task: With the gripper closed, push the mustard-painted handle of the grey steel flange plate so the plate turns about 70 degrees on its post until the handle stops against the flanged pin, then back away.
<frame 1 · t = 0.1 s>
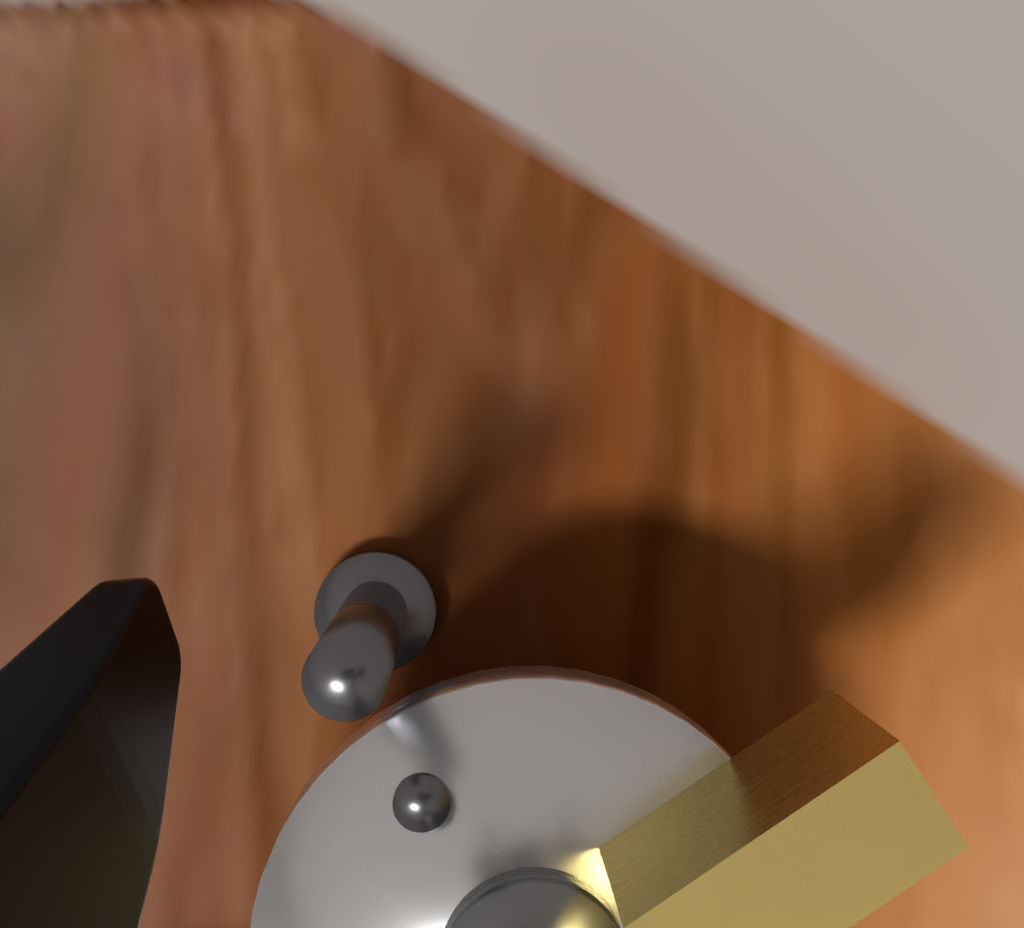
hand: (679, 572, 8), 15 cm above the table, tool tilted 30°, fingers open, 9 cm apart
flanged pin: (376, 609, 23), on the table
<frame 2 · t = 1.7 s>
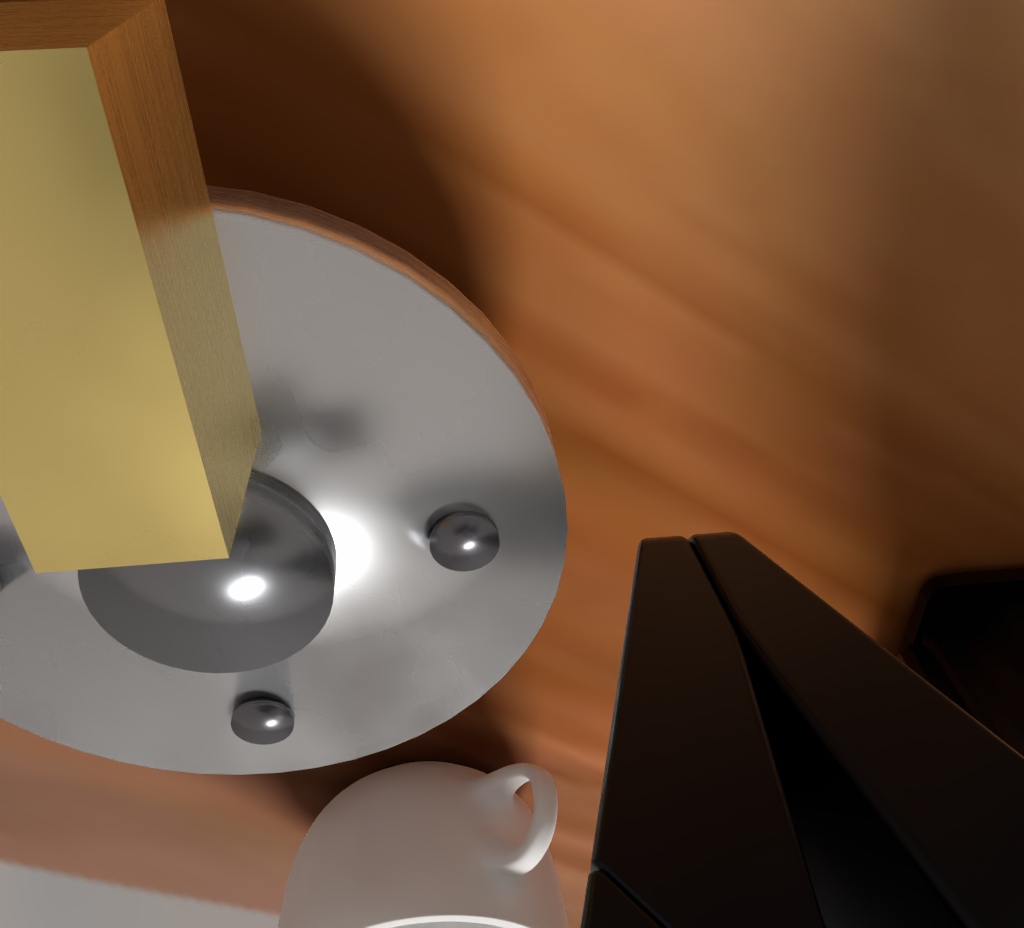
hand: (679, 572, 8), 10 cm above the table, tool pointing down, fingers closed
flange plate: (189, 534, 14), point 5 cm above the table, hinge at 0.0°
teacup: (441, 780, 26), on the table
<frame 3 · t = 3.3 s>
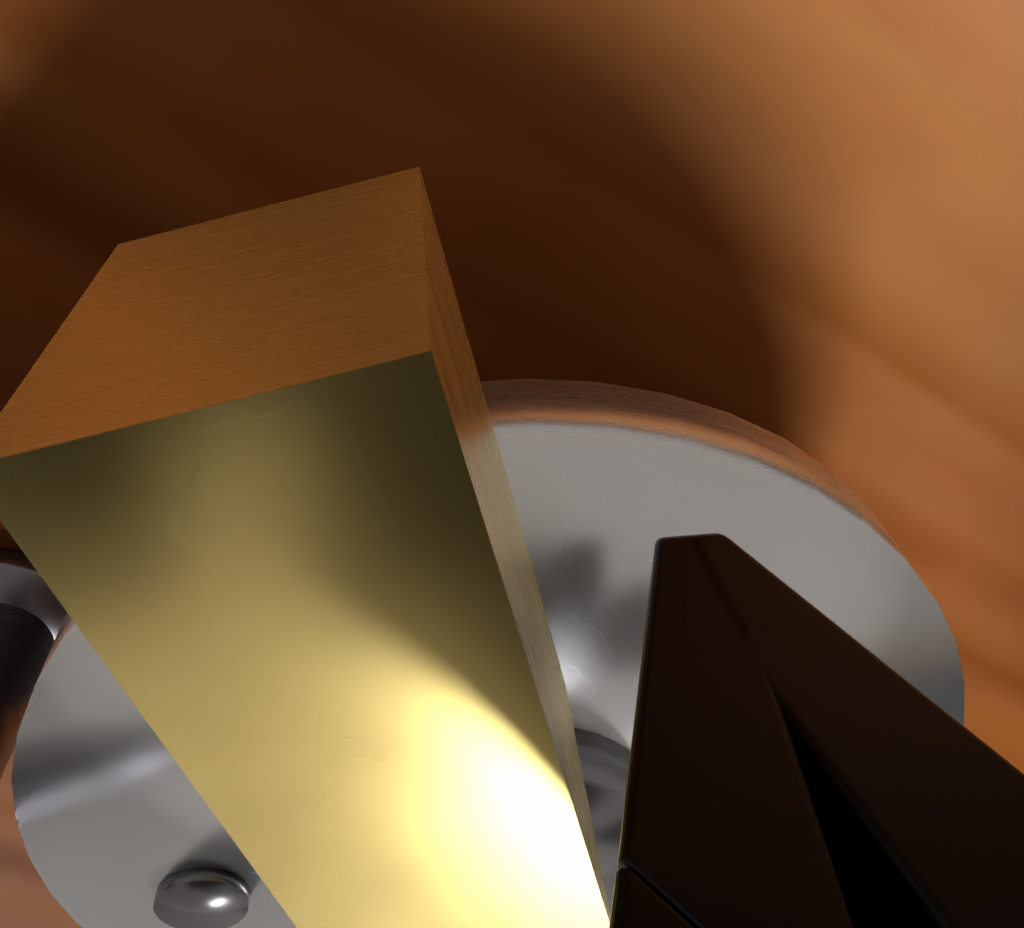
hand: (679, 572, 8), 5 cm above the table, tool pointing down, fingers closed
flange plate: (494, 833, 10), point 5 cm above the table, hinge at 10.8°, touching gripper
flanged pin: (8, 621, 14), on the table
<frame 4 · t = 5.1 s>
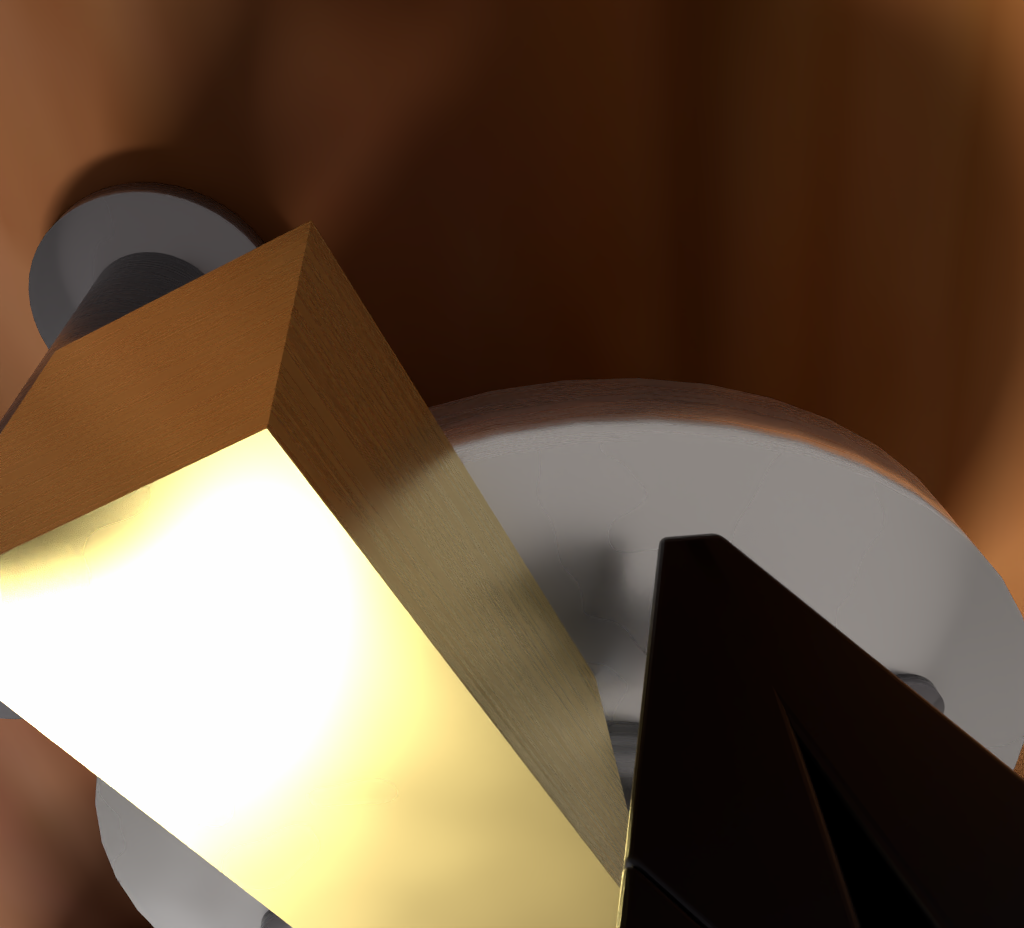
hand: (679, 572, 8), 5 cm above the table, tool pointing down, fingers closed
flange plate: (554, 836, 10), point 5 cm above the table, hinge at 69.8°, touching flanged pin, gripper
flanged pin: (167, 300, 11), on the table
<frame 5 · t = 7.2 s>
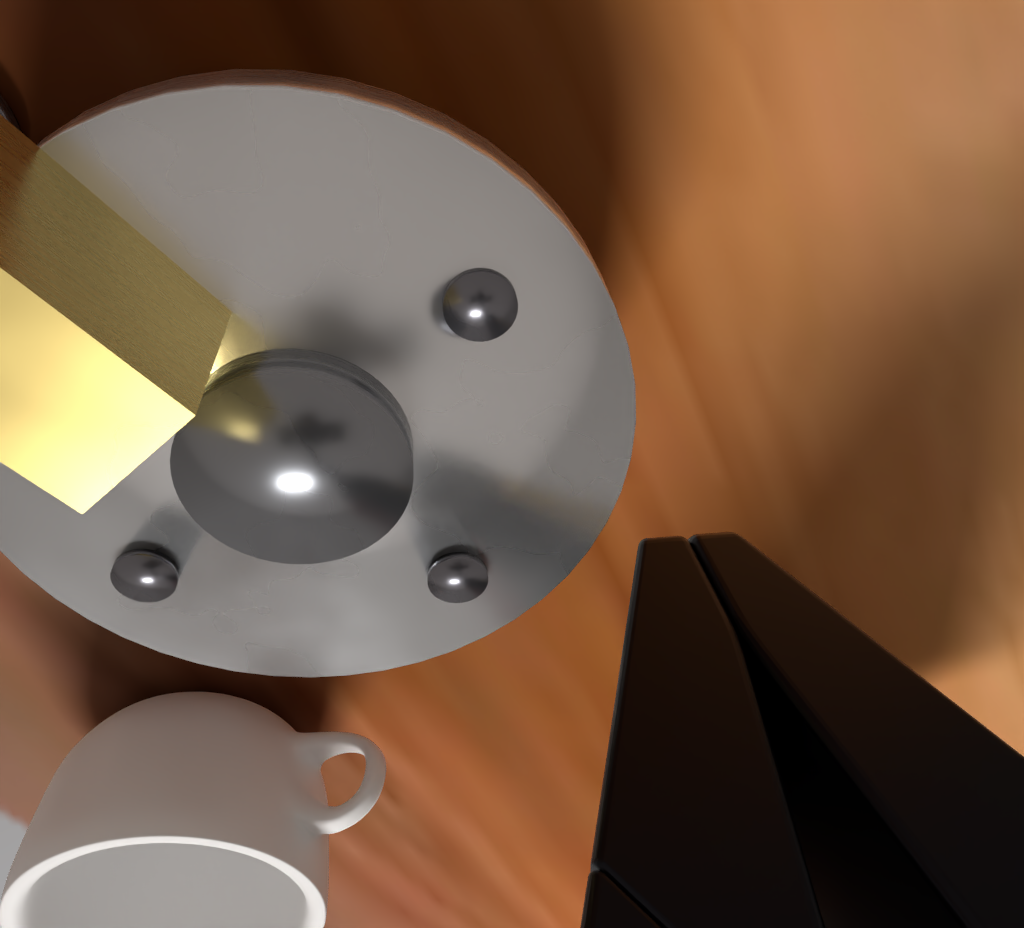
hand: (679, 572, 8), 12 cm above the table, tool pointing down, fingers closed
flange plate: (234, 434, 14), point 5 cm above the table, hinge at 69.8°, touching flanged pin
teacup: (238, 722, 26), on the table
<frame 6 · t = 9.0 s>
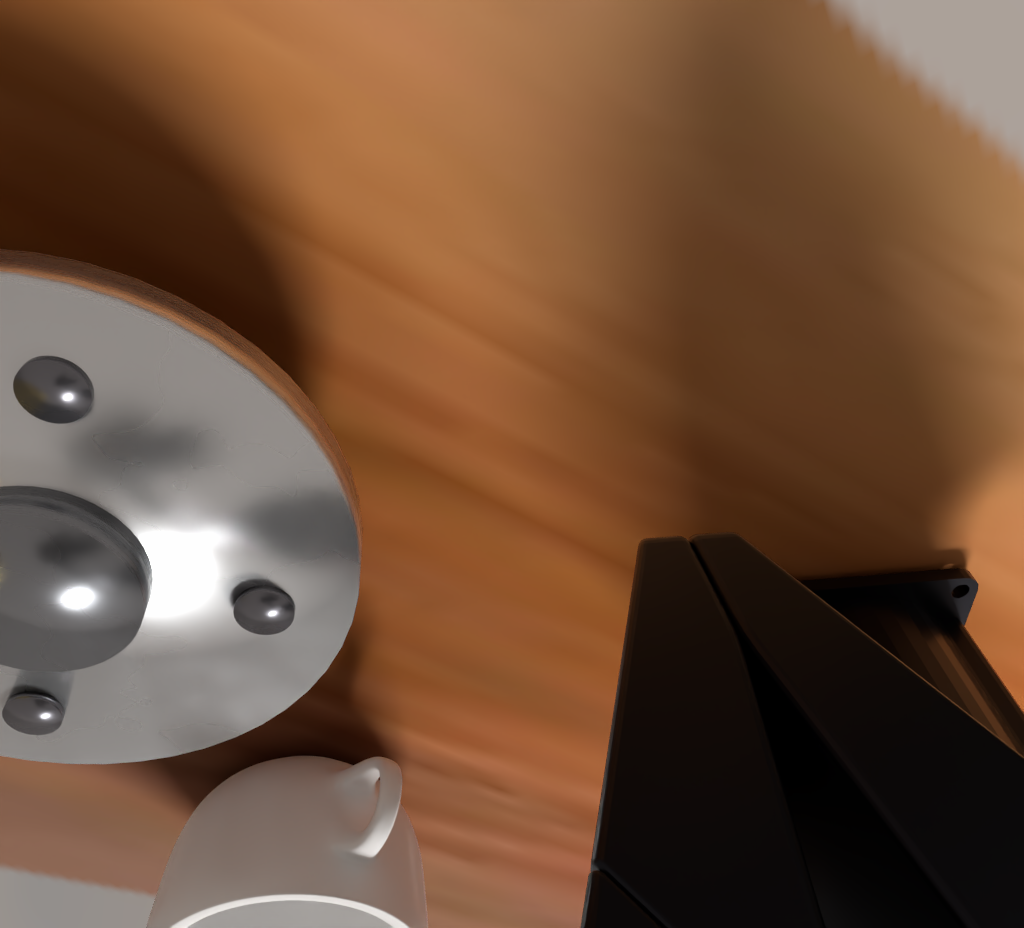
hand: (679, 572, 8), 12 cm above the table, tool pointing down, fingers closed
teacup: (321, 774, 28), on the table
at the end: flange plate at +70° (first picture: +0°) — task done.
